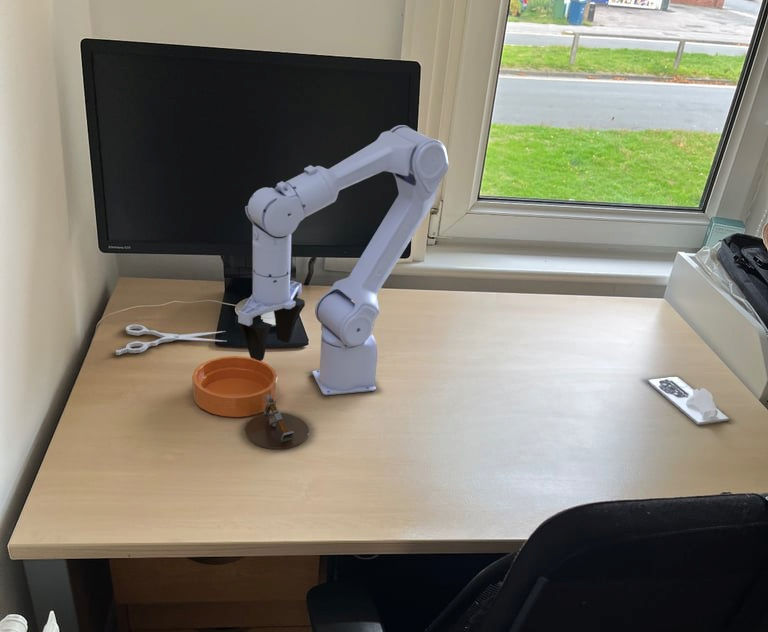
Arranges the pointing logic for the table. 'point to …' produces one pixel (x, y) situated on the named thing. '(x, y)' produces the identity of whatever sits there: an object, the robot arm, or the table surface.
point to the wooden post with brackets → (276, 419)
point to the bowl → (234, 386)
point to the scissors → (164, 338)
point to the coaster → (276, 432)
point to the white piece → (689, 400)
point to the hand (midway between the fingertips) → (270, 349)
